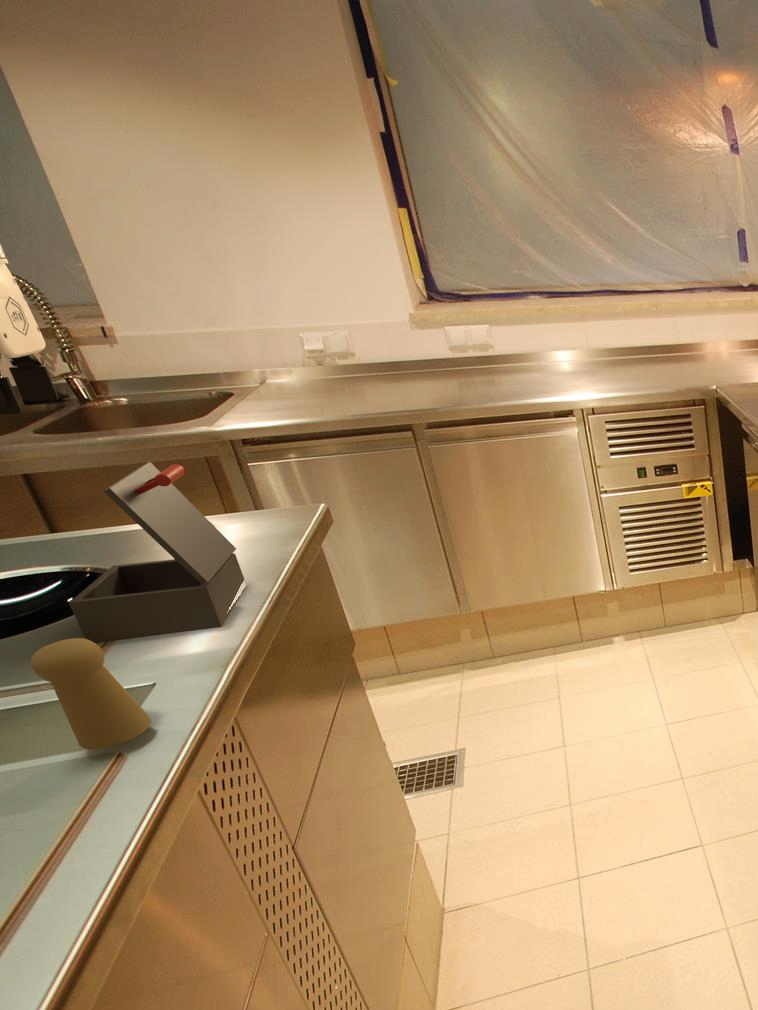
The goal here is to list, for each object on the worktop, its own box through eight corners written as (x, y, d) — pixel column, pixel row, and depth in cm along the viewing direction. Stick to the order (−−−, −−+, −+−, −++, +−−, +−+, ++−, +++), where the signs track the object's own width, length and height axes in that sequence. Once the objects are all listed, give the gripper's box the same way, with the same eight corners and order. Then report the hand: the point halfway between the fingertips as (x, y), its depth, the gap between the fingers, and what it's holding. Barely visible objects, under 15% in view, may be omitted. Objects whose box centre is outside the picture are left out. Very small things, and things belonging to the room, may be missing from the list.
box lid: (102, 490, 103) (143, 471, 104) (144, 464, 115) (180, 447, 116) (202, 585, 111) (239, 567, 112) (231, 551, 123) (264, 535, 124)
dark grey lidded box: (91, 651, 108) (68, 602, 105) (132, 610, 120) (112, 565, 117) (224, 634, 114) (206, 587, 111) (250, 596, 126) (235, 552, 123)
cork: (66, 753, 88) (2, 666, 82) (98, 720, 92) (40, 635, 87) (134, 743, 89) (77, 656, 83) (162, 710, 94) (110, 626, 88)
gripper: (-40, 250, 87) (33, 417, 94) (35, 249, 101) (93, 394, 108) (-143, 249, 84) (-60, 421, 91) (-52, 247, 98) (15, 397, 105)
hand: (23, 406), depth 100 cm, fingers open, 9 cm apart
